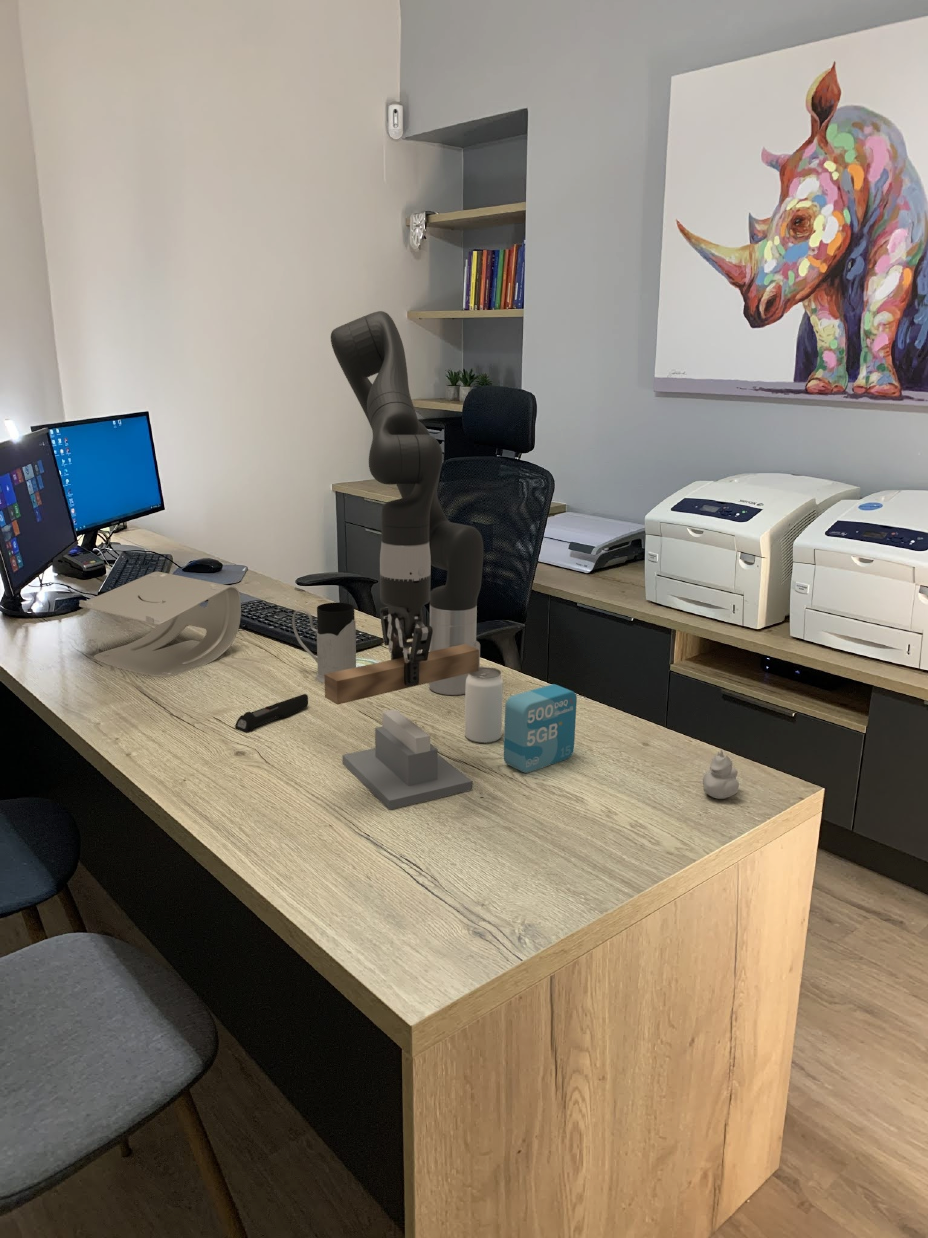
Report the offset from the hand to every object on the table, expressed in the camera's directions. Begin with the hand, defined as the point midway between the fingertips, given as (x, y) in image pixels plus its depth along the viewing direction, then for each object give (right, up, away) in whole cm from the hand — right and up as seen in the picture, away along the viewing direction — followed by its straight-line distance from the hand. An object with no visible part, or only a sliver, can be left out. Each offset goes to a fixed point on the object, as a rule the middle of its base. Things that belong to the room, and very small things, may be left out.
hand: (405, 679), depth 141 cm
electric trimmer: (-26, -9, +27) cm, 38 cm away
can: (+12, -11, +20) cm, 26 cm away
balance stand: (0, -16, +4) cm, 16 cm away
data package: (+21, -14, +11) cm, 28 cm away
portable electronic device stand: (-56, +1, +60) cm, 82 cm away
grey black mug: (-20, -3, +49) cm, 53 cm away
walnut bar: (0, -1, 0) cm, 1 cm away
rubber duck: (+48, -18, 0) cm, 52 cm away
